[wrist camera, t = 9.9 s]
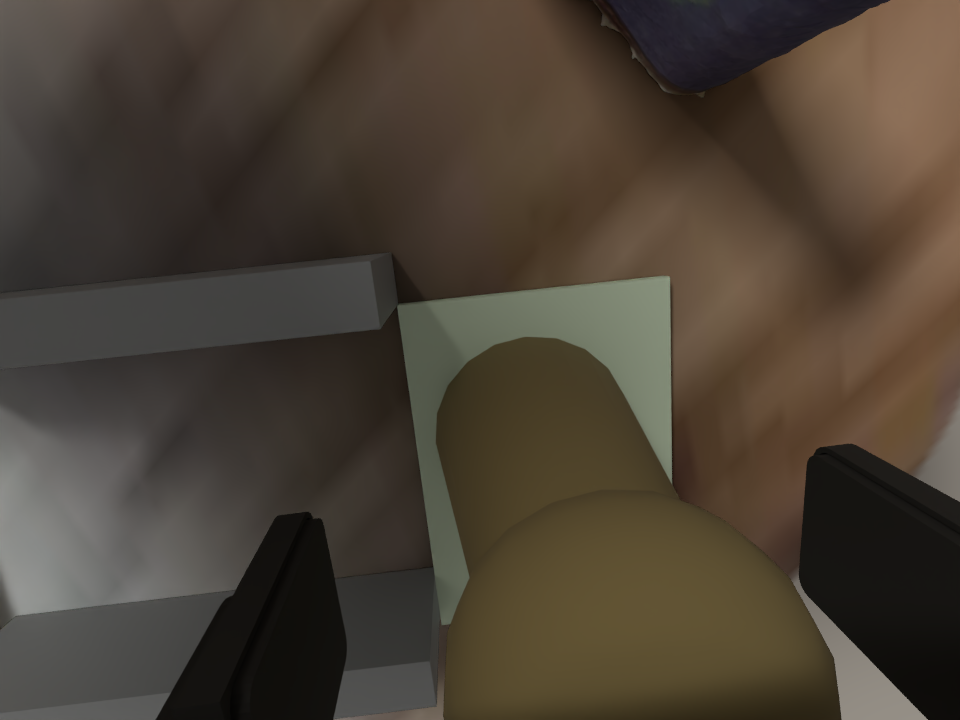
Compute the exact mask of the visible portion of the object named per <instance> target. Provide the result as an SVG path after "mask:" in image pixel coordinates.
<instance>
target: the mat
mask: <svg viewBox="0 0 960 720" xmlns="http://www.w3.org/2000/svg"><path fill="white" fill-rule="evenodd" d="M397 309H398V316H399V323H400V330H401V338H402V345H403V352H404V359H405V366H406V373H407V381H408V388H409V395H410V402H411V409H412V416H413V424H414V431H415V438H416V445H417V452H418V459H419V467H420V474H421V481H422V488H423V495H424V502H425V510H426V517H427V524H428V531H429V538H430V545H431V553H432V560H433V567H434V574H435V581H436V588H437V596H438V603H439V610H440V617H441V624H442V625H448V624H451V621H452V619H453V616H454V613H455V610H456V608H457V605H458V603H459V600H460V598H461V596H462V594H463V591H464V589H465V587H466V584H467V582H468V580H469V578H470V577H469V573H468V569H467V565H466V561H465V557H464V553H463V549H462V545H461V541H460V537H459V533H458V529H457V525H456V521H455V517H454V513H453V509H452V505H451V501H450V497H449V493H448V489H447V485H446V481H445V477H444V473H443V469H442V465H441V461H440V457H439V453H438V449H437V445H436V423H437V412H438V409H439V407H440V404H441V402H442V399H443V396H444V394H445V391H446V389H447V386H448V385H449V383H450V382H451V381H452V380H453V379H454V377H455V376H456V375H457V374H458V373H459V371H460V370H461V369H462V368H463V367H464V365H465V364H466V363H467V362H468V361H470V360H471V359H473V358H474V357H476V356H477V355H479V354H481V353H482V352H484V351H485V350H487V349H488V348H490V347H492V346H493V345H495V344H499V343H503V342H507V341H511V340H514V339H518V338H522V337H543V338H557V339H560V340H563V341H565V342H568V343H571V344H573V345H576V346H578V347H581V348H584V349H586V350H587V351H588V352H589V353H591V354H592V355H593V356H594V357H595V358H597V359H598V360H599V361H600V362H601V363H603V364H604V365H605V366H606V367H607V368H608V369H609V370H610V372H611V374H612V375H613V377H614V379H615V380H616V382H617V384H618V385H619V387H620V389H621V390H622V392H623V394H624V396H625V398H626V399H627V401H628V403H629V405H630V407H631V409H632V411H633V413H634V414H635V416H636V418H637V420H638V422H639V424H640V426H641V427H642V429H643V431H644V433H645V435H646V437H647V439H648V441H649V442H650V444H651V446H652V448H653V450H654V452H655V454H656V456H657V457H658V459H659V461H660V463H661V465H662V467H663V469H664V470H665V472H666V474H667V476H668V478H669V480H670V482H671V484H672V428H671V326H670V277H669V276H656V277H646V278H637V279H627V280H618V281H608V282H599V283H590V284H580V285H571V286H561V287H552V288H542V289H533V290H523V291H514V292H505V293H495V294H486V295H476V296H467V297H457V298H448V299H438V300H429V301H420V302H410V303H401V304H398V305H397Z"/></svg>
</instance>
